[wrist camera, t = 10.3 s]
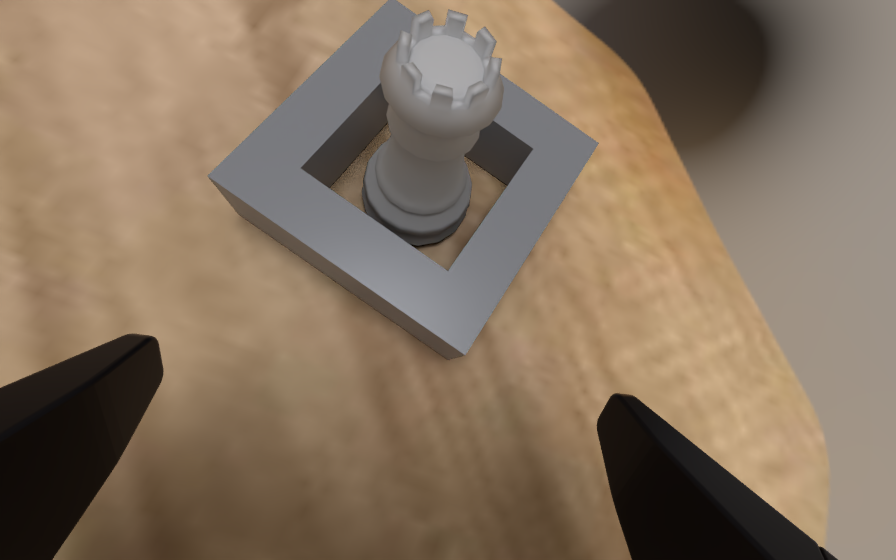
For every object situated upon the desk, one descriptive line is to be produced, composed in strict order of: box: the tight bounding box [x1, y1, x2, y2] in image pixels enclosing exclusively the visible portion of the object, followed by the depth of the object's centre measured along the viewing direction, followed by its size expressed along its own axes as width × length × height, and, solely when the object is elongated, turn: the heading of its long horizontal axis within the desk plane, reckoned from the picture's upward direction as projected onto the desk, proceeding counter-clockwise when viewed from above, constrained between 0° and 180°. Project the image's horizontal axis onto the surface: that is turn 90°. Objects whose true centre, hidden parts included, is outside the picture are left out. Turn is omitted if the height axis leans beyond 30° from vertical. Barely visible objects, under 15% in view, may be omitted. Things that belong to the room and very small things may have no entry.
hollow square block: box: [208, 0, 599, 360], centre depth 16 cm, size 10×10×3 cm
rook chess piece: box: [362, 9, 504, 246], centre depth 13 cm, size 4×4×8 cm
